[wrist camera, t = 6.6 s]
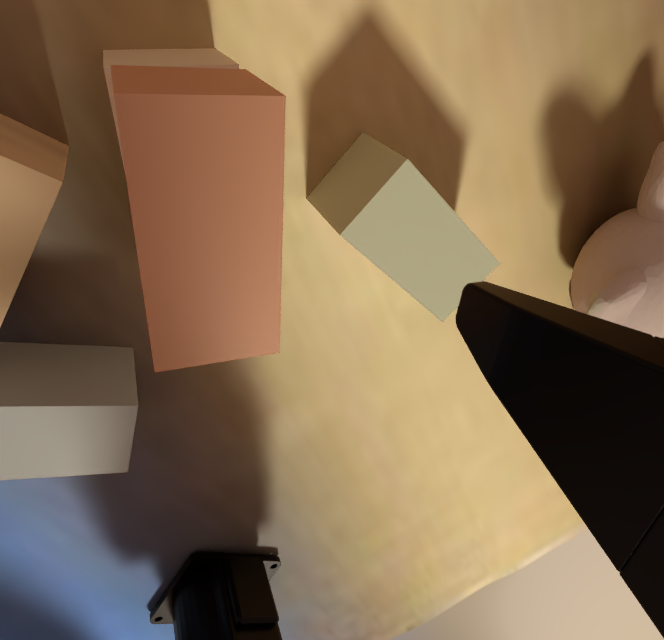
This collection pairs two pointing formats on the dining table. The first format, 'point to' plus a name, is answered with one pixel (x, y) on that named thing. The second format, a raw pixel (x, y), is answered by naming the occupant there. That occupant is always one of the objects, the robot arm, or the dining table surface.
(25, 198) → the beech brick
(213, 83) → the terracotta brick
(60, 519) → the dining table surface
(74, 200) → the dining table surface
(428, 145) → the dining table surface
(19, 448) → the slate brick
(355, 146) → the sage brick
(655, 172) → the toy
